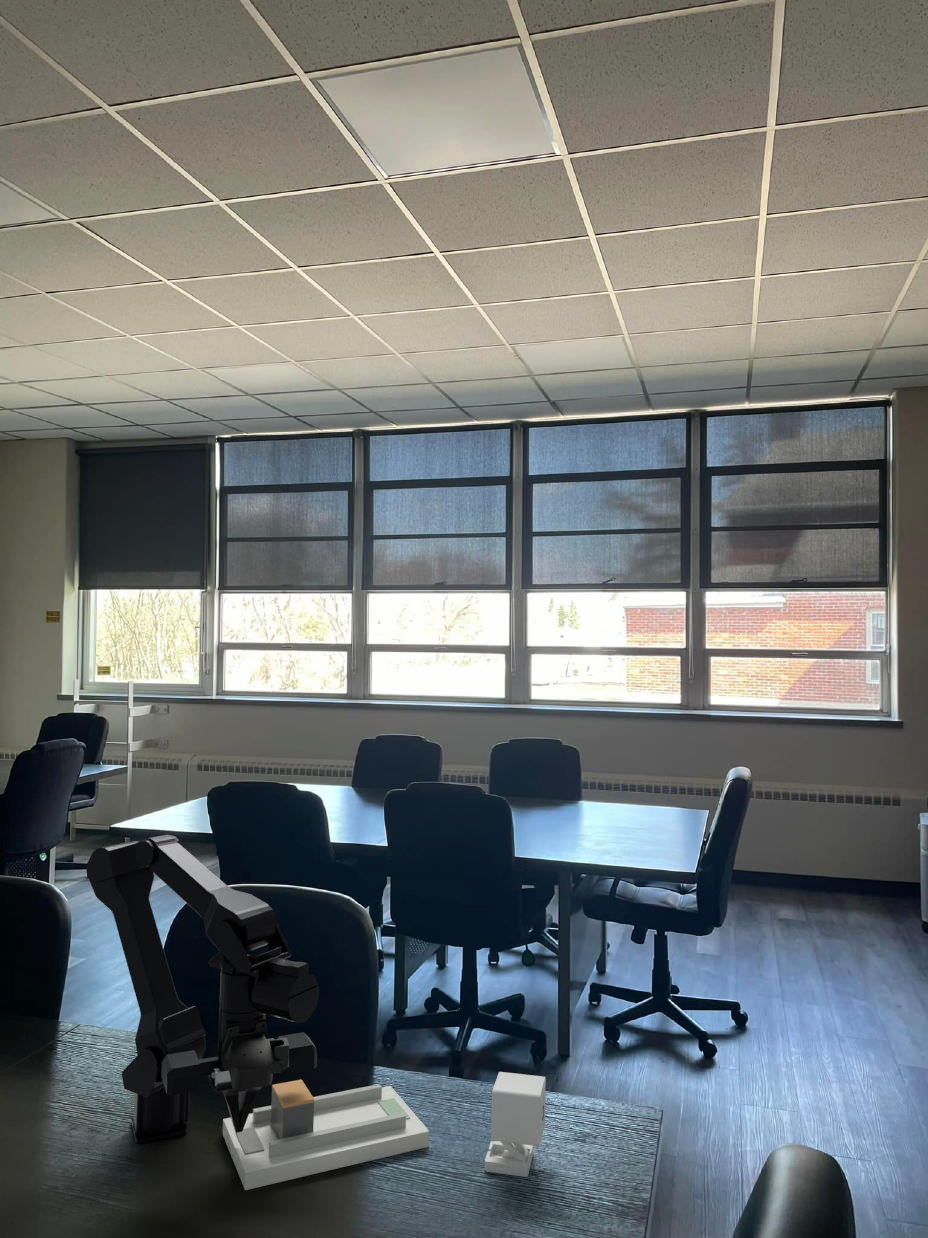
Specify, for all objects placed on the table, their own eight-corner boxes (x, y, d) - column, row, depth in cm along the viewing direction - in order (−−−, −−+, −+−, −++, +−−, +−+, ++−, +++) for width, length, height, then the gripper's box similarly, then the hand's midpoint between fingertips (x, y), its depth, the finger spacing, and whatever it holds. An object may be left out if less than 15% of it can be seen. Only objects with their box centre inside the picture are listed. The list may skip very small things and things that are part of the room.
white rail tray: (245, 1190, 105) (246, 1160, 106) (222, 1134, 118) (223, 1107, 118) (428, 1147, 116) (429, 1119, 116) (390, 1100, 128) (390, 1075, 129)
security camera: (539, 1181, 109) (540, 1097, 109) (483, 1173, 110) (485, 1091, 111) (545, 1154, 115) (546, 1074, 115) (492, 1147, 116) (493, 1069, 117)
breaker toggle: (282, 1145, 111) (283, 1105, 112) (270, 1123, 117) (272, 1085, 117) (313, 1138, 113) (314, 1099, 114) (300, 1117, 119) (301, 1079, 119)
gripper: (176, 1041, 102) (170, 1181, 101) (331, 1017, 110) (328, 1146, 109) (163, 1008, 112) (158, 1135, 111) (306, 987, 120) (303, 1106, 119)
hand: (238, 1131), depth 112 cm, fingers closed
